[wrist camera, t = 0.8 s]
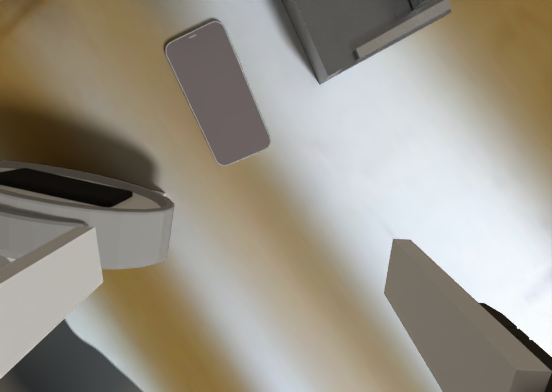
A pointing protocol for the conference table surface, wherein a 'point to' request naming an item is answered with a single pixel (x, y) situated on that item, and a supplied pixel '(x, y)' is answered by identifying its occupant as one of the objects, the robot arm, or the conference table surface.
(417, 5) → the ram
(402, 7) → the press bed
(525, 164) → the conference table surface
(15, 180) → the alarm clock
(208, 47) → the smartphone
